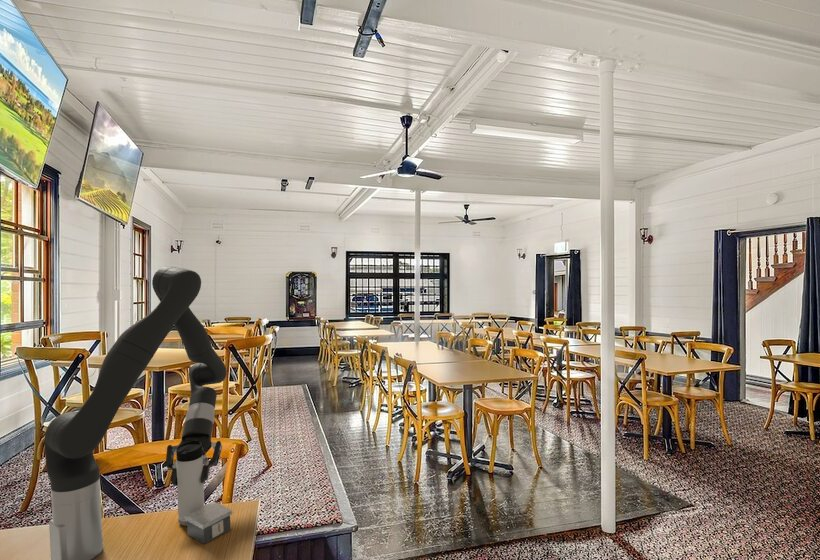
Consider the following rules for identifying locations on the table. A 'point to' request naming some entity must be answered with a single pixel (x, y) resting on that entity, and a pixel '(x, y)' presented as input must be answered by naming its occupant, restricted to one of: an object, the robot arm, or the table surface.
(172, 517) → the table surface
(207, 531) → the lidded box with label
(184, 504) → the travel mug
